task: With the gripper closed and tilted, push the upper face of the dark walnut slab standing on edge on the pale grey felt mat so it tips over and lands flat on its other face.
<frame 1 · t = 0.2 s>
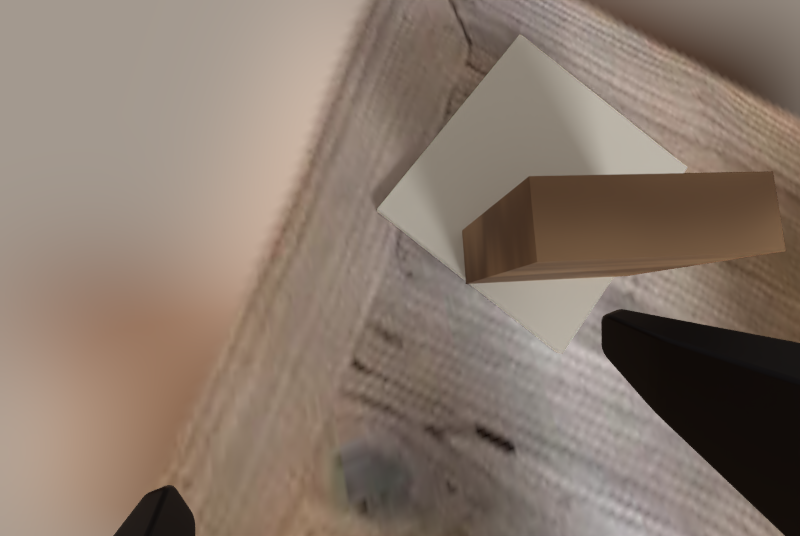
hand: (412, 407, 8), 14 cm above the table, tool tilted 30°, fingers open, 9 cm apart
felt mat: (535, 190, 25), on the table
walnut slab: (545, 253, 24), point 1 cm above the table, touching felt mat
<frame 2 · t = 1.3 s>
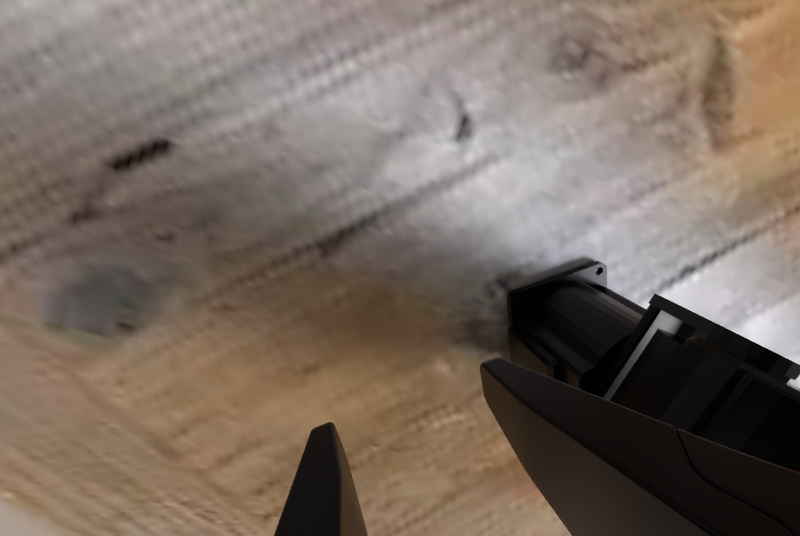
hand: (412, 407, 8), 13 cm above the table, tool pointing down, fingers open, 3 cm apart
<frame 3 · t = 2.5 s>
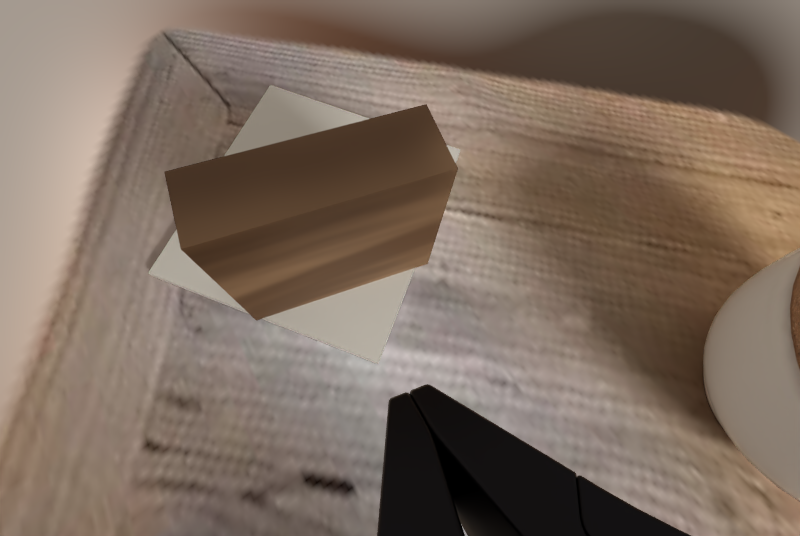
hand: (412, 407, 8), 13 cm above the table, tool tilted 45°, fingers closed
felt mat: (318, 211, 25), on the table
walnut slab: (336, 266, 23), point 1 cm above the table, touching felt mat
lidded bowl: (766, 393, 22), on the table
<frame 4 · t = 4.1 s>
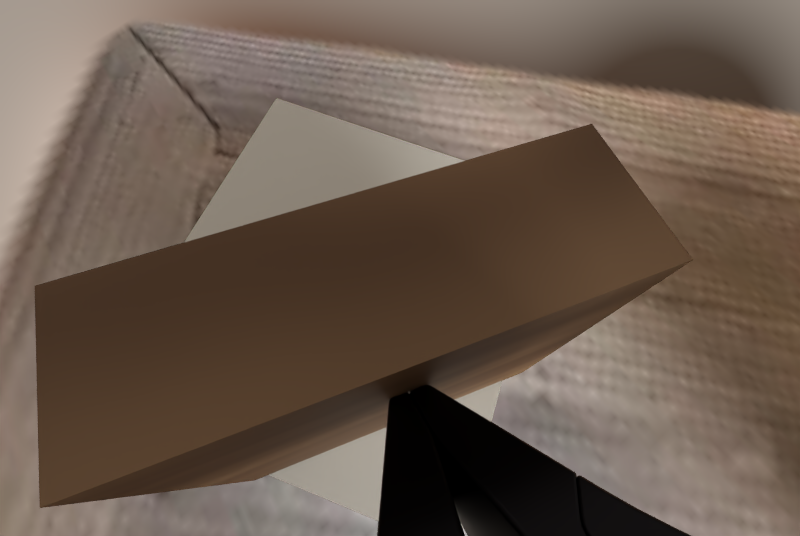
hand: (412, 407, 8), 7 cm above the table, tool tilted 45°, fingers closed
felt mat: (349, 286, 16), on the table
walnut slab: (381, 379, 14), point 1 cm above the table, touching felt mat, gripper
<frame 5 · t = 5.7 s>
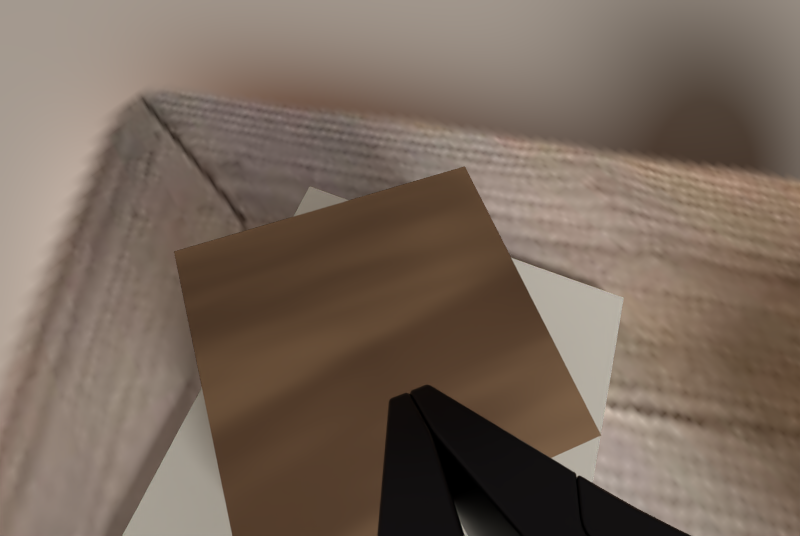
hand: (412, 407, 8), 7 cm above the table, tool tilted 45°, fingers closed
felt mat: (399, 418, 14), on the table
walnut slab: (430, 500, 12), point 2 cm above the table, tilted 90°, touching felt mat
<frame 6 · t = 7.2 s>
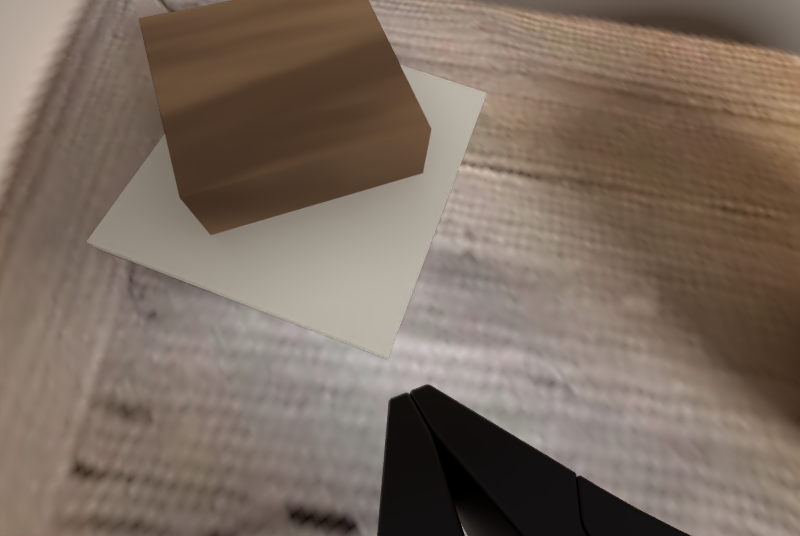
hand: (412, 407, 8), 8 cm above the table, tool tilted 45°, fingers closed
felt mat: (310, 167, 19), on the table
walnut slab: (317, 183, 17), point 2 cm above the table, tilted 90°, touching felt mat
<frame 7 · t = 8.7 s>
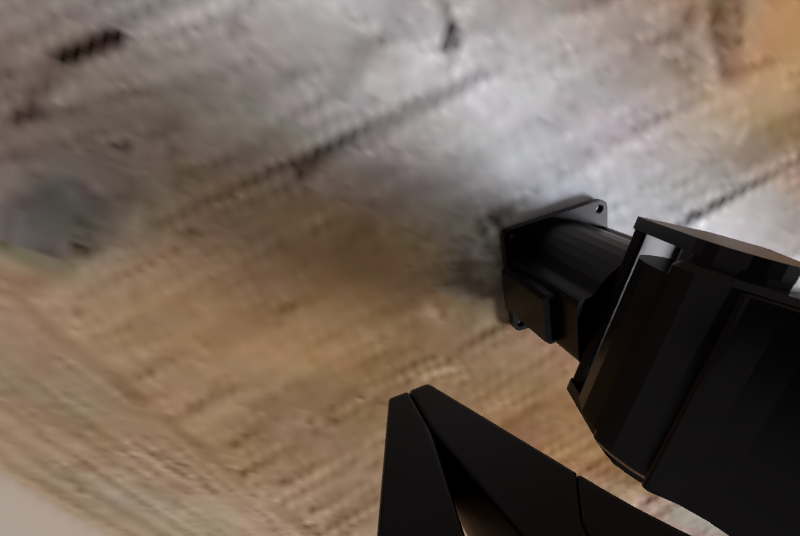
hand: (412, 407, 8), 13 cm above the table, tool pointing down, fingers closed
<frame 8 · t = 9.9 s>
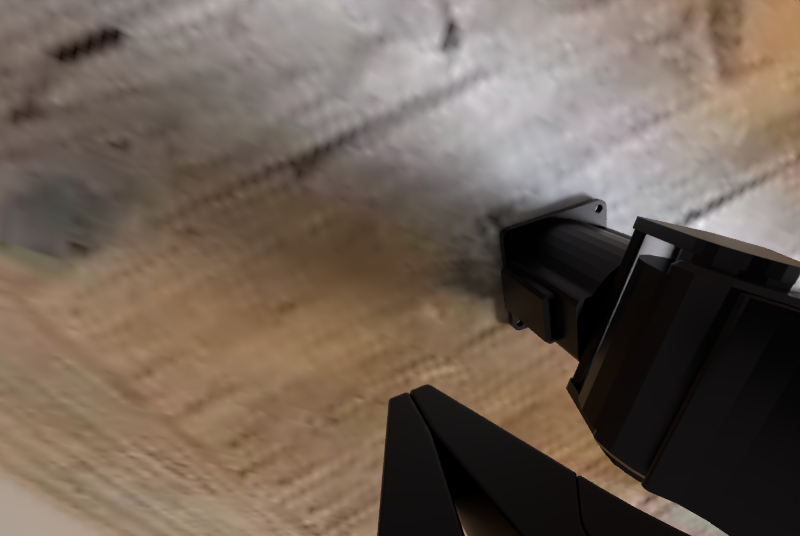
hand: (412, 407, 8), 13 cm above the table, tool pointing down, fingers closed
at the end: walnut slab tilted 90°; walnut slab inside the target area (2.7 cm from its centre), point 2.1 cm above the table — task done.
